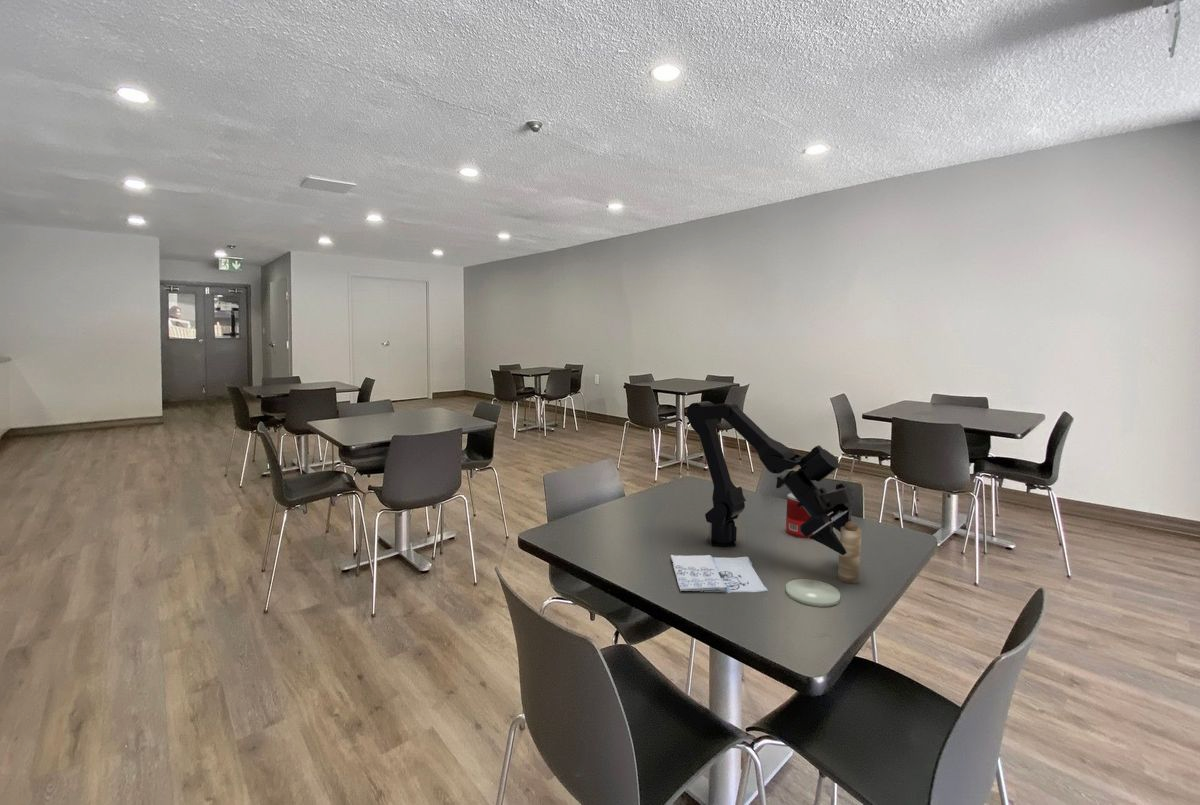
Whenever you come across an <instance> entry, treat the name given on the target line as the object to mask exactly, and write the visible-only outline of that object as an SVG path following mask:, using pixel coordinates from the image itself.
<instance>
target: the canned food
mask: <svg viewBox="0 0 1200 805" xmlns="http://www.w3.org/2000/svg"><path fill="white" fill-rule="evenodd" d="M786 498H787V499H786V517H785V518H786V519H785V520H786V523H785V531H786V533H787V534H788V535H790V536H792V537H795V538H802V539H803V538H804V539H806V538H808V539H810V538H809V537H811V536H812V535H813V533H812V534H811V535H809V536H807V537H806V538H805V537H804V536H803V534H802V533H801V532H800V525H802V524H803V523H804V522H806V521H807V520H808V519H809V518H810V515H809V514H808V513H807V512H806V511H805V509H804V508H803V507H800V508H799V507H798V506H797V504H798V503H799V502H798V501H797V499H796V498H795V497H794V496H793V494H792V493H791V492H790V493H788V494H787V496H786Z"/></svg>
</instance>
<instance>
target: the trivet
mask: <svg viewBox="0 0 1200 805" xmlns="http://www.w3.org/2000/svg"><path fill="white" fill-rule="evenodd" d="M785 593H786V595H787V596H788V597H789V598H790V599H792V600H794V602H797V603H800V604H802V605H807V606H811V607H819V608H826V607H827V608H828V607H829V608H830V607H833V605H834V606H835V605H836V606H837V604H839V603H840V602H841V593H840V591H839V590H838V588H836V587H834V586H833V585H831V584H829V583H827V582H824V581H821V580H815V579H809V578H798V579H793V580H790V581H787V583H786V584H785Z"/></svg>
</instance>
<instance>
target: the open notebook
mask: <svg viewBox="0 0 1200 805" xmlns="http://www.w3.org/2000/svg"><path fill="white" fill-rule="evenodd" d="M670 559H671V562H673V563H672V567H673V570H674V573H675V578H676V580H677V585H678V587H679V590H680V592H681V591H700V592H699V593H726V594H732V593H753V594H754V593H759V594H760V593H761V594H762V593H768V591H769V589H768V588H767V587H766V586H765V585H764V584H763V581H762V580H761V578H760V576H759V574H757V571H755V569H754V567H753V563H752V561H751V560H750V558H749V557H748V556H742V557H741V556H739V557H713V556H712V555H710V554H708V555H707V554H706V555H675V554H674V555H673V554H671V555H670ZM720 574H721V575H723V576H722V577H721V575H720ZM703 591H704V592H703Z"/></svg>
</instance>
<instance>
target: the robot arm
mask: <svg viewBox="0 0 1200 805" xmlns="http://www.w3.org/2000/svg"><path fill="white" fill-rule="evenodd" d="M685 414H686V418H687V420H688V422H689V425H690V427H691V428H692V429H693V430H694V432H695V433H696V434H697V435H698V437H699V439H700V444H701V447H702V450H703V454H704V458H705V461H706V465H707V468H708V471H709V474H710V478H711V481H712V485H713V491H712V498H711V499H712V506H713V507H712V508H711V509H709V510H708V511H707V512H706V513H704V517H705V519H706V522H707V523H709V535H708V536H707V540H708V541H709V543H710V545H711V546H712V547H736V545H737V544H736V542H737V533H738V532H737V531H738V527H737V526H736V523H735V520H737V519H738V518H739V515H740V514H741V513H742V512H743V511H744V509H745V508H746V503H745V502H747V500H746V497H745V496H744V492H743V488H742V487H741V486H738V487H736V485H735V484H734V483H733V481H732V480H731V476H730V472H729V469H728V466H727V462H726V459H725V456H724V455H725V454H724V452H723V448H722V445H721V442H720V438H719V435H718V432H717V430H718V423H719V419H724V420H725V421H726V422H727V423H728V424H729V425H730V426H731V427H732V428H733V429H734V430H735V431H736V432H737V433H738V434H739V435H740V436H741V437H742V438H743V439H744V440H745V441H746V442H747V443H748V444H749V445H750V446H751V447H752V448H753V449H754V450H755V452H756V453H757V455H758V458H759V461H761V463H762V464H763V466H764V468H765V469H766V470H767V472H770V473H771V474H774V475H775V474H779V476H777V477H776V485H775V487H776V489H780V488H782V487H784V486H785V487H786V488H787V489H788V491H789V492H790V493H792V494H793V496H794V497H795V498H796V499H797V501H798V502H799V503H798V504H797V506H798V507H799V508H800V507H803V508H804V509H805V511H806V512H807V513H808V514H809V515H810V518H809V519H808V520H807V521H806V522H804V523H803V524H802V525H800V532H801V533H802V534H803V536H804V537H805V538H804V539H806V537H807V536H809V535H811V534H812V533H813V535H812V536H811V537H809V538H808V539H809V540H813V541H815V542H817V543H820V544H822V545H823V546H825V547H827V548H829V549H830V550H833V551H834V552H836V553H838V554H839V553H840V554H841V555H844V554H846V553H847V552H846V550H845V548H844V547H843V545H842V544H841V542H840V538H839V537H838V536H837V534H836V533H835V531H834V529H835V530H837V531H838V532H839V533H840V530H841V527H843V526H845V524H846V523H847V522H848V521H852V512H853V508H852V507H853V504H852V503H851V500H852V501H853V500H855V498H854V495H853V492H854V489H853V488H851V486H850V485H848V484H847V483H846V482H844V481H843V482H839V483H838V484H836V485H835V489H834V488H833V489H831V490H829V491H827V489H825V488H824V487H822V486H821V487H820V488H819V486H817V484H816V483H815V482H814V481H816V482H819V483H820V482H821V481H823V480H824V479H825V478H827V477H828V476H830V475H831V474H833V472H835V471H836V470H837V469H839V468H840V462H839V460H838V459H837V458H836V456H835V455H834V454H832V453H830V452H829V451H828V450H826V449H824V448H823V447H822V446H821V445H816V446H815V447H813V448H812V449H811V450H810V452H808V453H807V454H806V455H801V454H797V453H795V452H794V451H793V450H792V449H791V448H789V447H788V446H786V445H785V444H783V443H782V442H780V441H777V440H775V439H773V438H771V437H770V436H769V435H768V434H767V433H766V432H765V431H764V430H763V429H761V428H760V427H759V426H758V425H757V424H756V423H755V422H754V421H753V420H752V419H751V418H749V416H748V415H747V414H746V413H744V412H743V411H742V409H740V407H739V406H738V404H736V403H735V402H729V403H713V402H711V401H708V400H706V401H705V400H704V401H698V402H692V403H690V404H689V406H687V408H686V411H685ZM798 467H799V468H798ZM796 468H798V469H797V470H793V469H796ZM789 470H790V471H789ZM787 471H788V472H787ZM785 472H787V473H785ZM782 473H785V475H780V474H782ZM851 508H852V509H851Z"/></svg>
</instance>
